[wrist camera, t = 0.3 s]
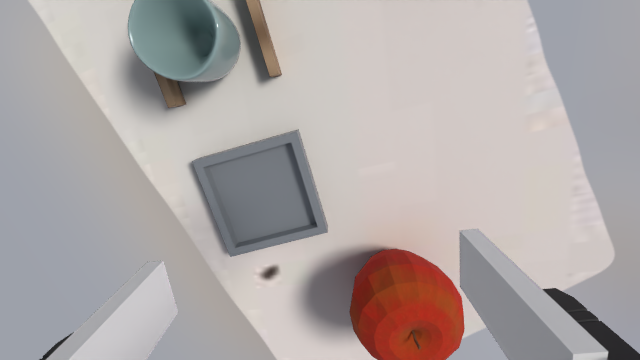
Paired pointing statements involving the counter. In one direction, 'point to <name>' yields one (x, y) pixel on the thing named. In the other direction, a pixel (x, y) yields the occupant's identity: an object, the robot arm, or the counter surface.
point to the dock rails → (173, 90)
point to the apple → (406, 308)
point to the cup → (184, 39)
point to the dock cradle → (262, 193)
